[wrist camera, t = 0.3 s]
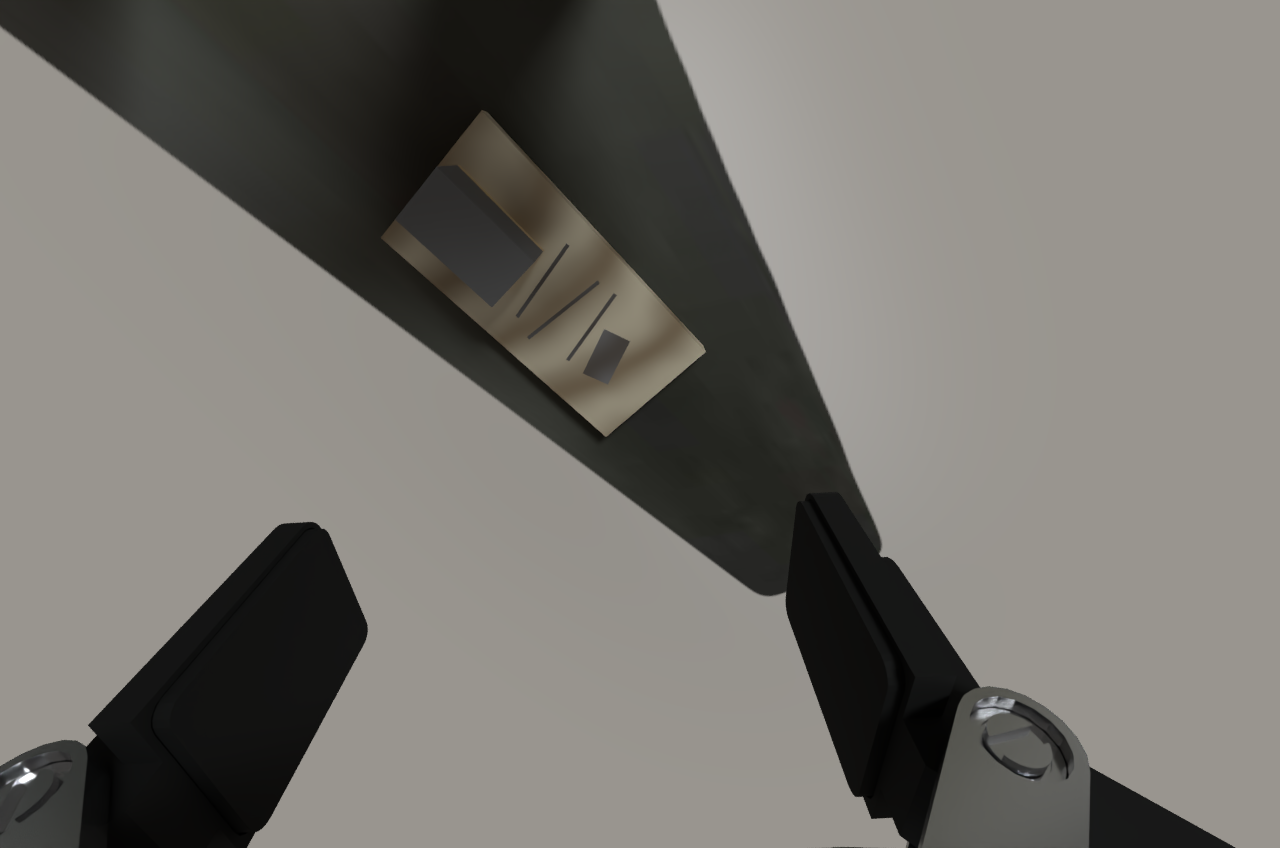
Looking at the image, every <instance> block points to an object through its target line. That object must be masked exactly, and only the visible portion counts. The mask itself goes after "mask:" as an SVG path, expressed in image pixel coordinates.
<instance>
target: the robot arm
mask: <svg viewBox="0 0 1280 848" xmlns="http://www.w3.org/2000/svg"><path fill="white" fill-rule="evenodd" d="M786 610H787V615H788V618H789V621H790V624H791V627H792V630H793V632H794V635H795V638H796V641H797V643H798V646H799V649H800V652H801V654H802V657H803V660H804V663H805V665H806V669H807V671H808V674H809V677H810V680H811V683H812V685H813V688H814V691H815V694H816V696H817V699H818V702H819V705H820V708H821V710H822V713H823V716H824V718H825V721H826V724H827V727H828V730H829V732H830V735H831V738H832V741H833V744H834V746H835V749H836V752H837V755H838V757H839V760H840V763H841V766H842V769H843V771H844V774H845V777H846V780H847V783H848V785H849V788H850V789H851V792H852V793H853V795H854V796H855V797H862V796H863V797H864V800H865V802H866V806H867V808H868V811H869V814H870V816H871V819H877V818H893V820H894V823H895V825H896V828H897V830H898V833H899V835H900V836H901V837H903V838H904V839H905V840H907V845H906V848H1235V847H1233V846H1232V845H1230V844H1228V843H1226V842H1224V841H1222V840H1221V839H1219V838H1217V837H1215V836H1213V835H1212V834H1210V833H1208V832H1206V831H1204V830H1203V829H1201V828H1199V827H1197V826H1195V825H1194V824H1192V823H1190V822H1188V821H1186V820H1185V819H1183V818H1181V817H1179V816H1177V815H1176V814H1174V813H1172V812H1170V811H1168V810H1167V809H1165V808H1163V807H1161V806H1159V805H1158V804H1155V803H1154V802H1152V801H1150V800H1148V799H1147V798H1145V797H1143V796H1141V795H1140V794H1138V793H1136V792H1134V791H1132V790H1130V789H1129V788H1127V787H1125V786H1123V785H1121V784H1120V783H1118V782H1116V781H1114V780H1112V779H1111V778H1109V777H1107V776H1105V775H1103V774H1101V773H1100V772H1098V771H1096V770H1094V769H1093V768H1091V767H1089V763H1088V758H1087V754H1086V753H1085V751H1084V749H1083V747H1082V745H1081V743H1080V742H1079V740H1078V738H1077V737H1076V736H1075V734H1074V733H1073V732H1072V731H1071V730H1070V729H1069V728H1068V726H1067V725H1066V724H1065V723H1064V722H1063V721H1062V720H1061V719H1060V718H1058V717H1057V716H1056V715H1055V714H1054V713H1052V712H1051V711H1050V710H1049V709H1047V708H1046V707H1044V706H1043V705H1041V704H1040V703H1038V702H1036V701H1034V700H1032V699H1031V698H1029V697H1027V696H1025V695H1022V694H1020V693H1017V692H1014V691H1011V690H1008V689H1004V688H997V687H990V686H989V687H982V688H980V687H979V685H978V684H977V682H976V681H975V679H974V678H973V676H972V675H971V673H970V672H969V670H968V669H967V668H966V666H965V664H964V663H963V661H962V660H961V659H960V657H959V656H958V654H957V653H956V651H955V650H954V648H953V647H952V645H951V644H950V642H949V641H948V639H947V638H946V636H945V635H944V634H943V632H942V631H941V629H940V628H939V626H938V625H937V623H936V622H935V620H934V619H933V617H932V616H931V614H930V613H929V611H928V610H927V609H926V607H925V605H924V604H923V603H922V601H921V600H920V598H919V597H918V595H917V593H916V592H915V591H914V589H913V588H912V586H911V585H910V583H909V582H908V580H907V579H906V577H905V576H904V574H903V573H902V571H901V570H900V568H899V567H898V566H897V565H896V563H895V562H894V561H893V560H892V559H890V558H888V557H881V556H880V555H879V553H878V552H877V550H876V549H875V547H874V546H873V544H872V542H871V541H870V539H869V538H868V536H867V535H866V533H865V532H864V530H863V529H862V527H861V526H860V524H859V522H858V521H857V519H856V518H855V516H854V515H853V513H852V512H851V510H850V509H849V507H848V505H847V504H846V502H845V501H844V499H843V498H842V496H841V495H840V494H839V493H837V492H828V493H810V494H808V495H807V496H806V499H805V501H799V502H798V503H797V506H796V514H795V522H794V531H793V540H792V548H791V557H790V566H789V574H788V583H787V592H786ZM367 632H368V628H367V622H366V620H365V617H364V615H363V613H362V611H361V608H360V606H359V603H358V601H357V599H356V596H355V594H354V592H353V589H352V587H351V584H350V582H349V580H348V577H347V575H346V573H345V570H344V568H343V566H342V563H341V561H340V559H339V556H338V554H337V552H336V549H335V547H334V545H333V542H332V540H331V538H330V536H329V533H328V532H327V531H326V530H325V529H321V528H320V526H319V525H318V524H316V523H314V522H303V523H287V524H281V525H279V526H278V527H276V528H275V529H274V530H273V531H272V532H271V533H270V534H269V535H268V536H267V537H266V538H265V540H264V541H263V542H262V543H261V544H260V545H259V546H258V547H257V548H256V549H255V550H254V551H253V552H252V553H251V554H250V555H249V556H248V558H247V559H246V560H245V561H244V562H243V563H242V564H241V565H240V566H239V567H238V568H237V569H236V570H235V571H234V572H233V573H232V574H231V575H230V576H229V578H228V579H227V580H226V581H225V582H224V583H223V584H222V585H221V586H220V587H219V588H218V589H217V590H216V591H215V592H214V593H213V594H212V595H211V596H210V597H209V598H208V600H207V601H206V602H205V603H204V604H203V605H202V606H201V607H200V608H199V609H198V610H197V611H196V612H195V613H194V614H193V615H192V616H191V617H190V619H189V620H188V621H187V622H186V623H185V624H184V625H183V626H182V627H181V628H180V629H179V630H178V631H177V632H176V633H175V634H174V635H173V636H172V637H171V638H170V640H169V641H168V642H167V643H166V644H165V645H164V646H163V647H162V648H161V649H160V650H159V651H158V652H157V653H156V654H155V655H154V656H153V657H152V658H151V659H150V661H149V662H148V663H147V664H146V665H145V666H144V667H143V668H142V669H141V670H140V671H139V672H138V673H137V674H136V675H135V676H134V677H133V678H132V679H131V681H130V682H129V683H128V684H127V685H126V686H125V687H124V688H123V689H122V690H121V691H120V692H119V693H118V694H117V695H116V696H115V697H114V698H113V700H112V701H111V702H110V703H109V704H108V705H107V706H106V707H105V708H104V709H103V710H102V711H101V712H100V713H99V714H98V715H97V716H96V717H95V718H94V720H93V721H92V722H91V723H90V724H89V725H88V726H89V727H90V728H91V729H92V730H93V731H94V732H95V734H96V735H97V736H96V737H95V738H94V739H93V740H92V741H91V742H90V743H89V745H88V746H87V747H86V746H84V745H83V744H81V743H80V742H78V741H72V740H62V741H57V742H53V743H49V744H45V745H42V746H39V747H37V748H35V749H32V750H30V751H28V752H25V753H23V754H21V755H19V756H17V757H15V758H14V759H12V760H10V761H9V762H7V763H5V764H3V765H1V766H0V848H247V846H248V844H249V843H250V841H251V839H252V837H253V836H254V834H255V832H257V831H259V830H260V829H262V828H263V827H264V826H265V825H266V823H267V822H268V820H269V819H270V817H271V816H272V814H273V812H274V810H275V808H276V806H277V804H278V802H279V801H280V799H281V797H282V795H283V793H284V791H285V789H286V788H287V786H288V784H289V782H290V780H291V778H292V777H293V775H294V773H295V771H296V769H297V767H298V765H299V764H300V762H301V759H302V758H303V756H304V754H305V752H306V751H307V749H308V747H309V745H310V743H311V741H312V739H313V738H314V736H315V734H316V732H317V730H318V728H319V726H320V725H321V723H322V721H323V719H324V717H325V715H326V713H327V711H328V710H329V708H330V706H331V704H332V702H333V700H334V699H335V697H336V695H337V693H338V691H339V689H340V687H341V686H342V684H343V682H344V680H345V678H346V676H347V674H348V673H349V671H350V669H351V667H352V665H353V663H354V661H355V660H356V658H357V656H358V654H359V652H360V650H361V649H362V647H363V645H364V643H365V640H366V637H367ZM833 848H861V847H833Z"/></svg>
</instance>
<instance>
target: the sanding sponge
mask: <svg viewBox="0 0 1280 848" xmlns="http://www.w3.org/2000/svg"><path fill="white" fill-rule="evenodd" d="M395 220H396V221H397V222H398V223H399V224H400V225H402V226H403V227H404V228H405V229H406V230H407V231H408V232H409V233H410V234H411V235H413V236H414V237H415V238H416V239H417V240H418V241H419V242H420V243H421V244H422V245H424V246H425V247H426V248H427V249H428V250H429V251H430V252H431V253H432V254H433V255H435V256H436V257H437V258H438V259H439V260H440V261H441V262H442V263H443V264H444V265H446V266H447V267H448V268H449V269H450V270H451V271H452V272H453V273H454V274H455V275H457V276H458V277H459V278H460V279H461V280H462V281H463V282H464V283H465V284H466V285H468V286H469V287H470V288H471V289H472V290H473V291H474V292H475V293H476V294H477V295H479V296H480V297H481V298H482V299H483V300H484V301H485V302H486V303H487V304H488V305H490V306H491V307H493V306H494V305H495V304H496V303H497V302H498V300H499V299H500V298H501V297H502V296H503V295H504V294H505V293H506V292H507V291H508V290H509V289H510V288H511V287H512V286H513V284H514V283H515V282H516V281H517V280H518V279H519V278H520V277H521V276H522V275H523V274H524V273H525V272H526V271H527V270H528V268H529V267H530V266H531V265H532V264H533V263H534V262H535V261H536V260H537V258H538V257H539V256H540V255H541V254H542V252H543V251H544V250H543V249H542V247H541V246H540V245H539V244H538V243H537V242H536V241H535V240H534V239H533V238H532V237H531V236H530V235H529V234H528V233H527V232H526V231H525V230H524V229H523V228H522V227H521V226H520V225H519V224H518V223H517V222H516V221H515V220H514V219H513V218H512V217H511V216H510V215H509V214H508V213H507V212H506V211H505V210H504V209H503V208H502V207H501V206H500V205H499V204H498V203H497V202H496V201H495V200H494V199H493V198H492V197H491V196H490V195H489V194H488V193H487V192H486V191H485V190H484V189H483V188H482V187H481V186H480V185H479V184H478V183H477V182H476V181H475V180H474V179H473V178H472V177H471V176H470V175H469V174H468V173H467V172H466V171H465V170H464V169H463V168H462V167H461V166H460V165H452V166H437V167H436V168H435V169H434V171H433V172H432V173H431V174H430V176H429V177H428V178H427V179H426V181H425V182H424V183H423V185H422V186H421V187H420V188H419V190H418V191H417V192H416V193H415V195H414V196H413V197H412V198H411V200H410V201H409V202H408V203H407V205H406V206H405V207H404V209H403V210H402V211H401V212H400V214H399V215H398V216H397V217H396V219H395Z"/></svg>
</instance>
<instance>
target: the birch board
mask: <svg viewBox="0 0 1280 848" xmlns="http://www.w3.org/2000/svg"><path fill="white" fill-rule="evenodd" d="M452 165H460V166H461V167H462V168H463V169H464V170H465V171H466V172H467V173H468V174H469V175H470V176H471V177H472V178H473V179H474V180H475V181H476V182H477V183H478V184H479V185H480V186H481V187H482V188H483V189H484V190H485V191H486V192H487V193H488V194H489V195H490V196H491V197H492V198H493V199H494V200H495V201H496V202H497V203H498V204H499V205H500V206H501V207H502V208H503V209H504V210H505V211H506V212H507V213H508V214H509V215H510V216H511V217H512V218H513V219H514V220H515V221H516V222H517V223H518V224H519V225H520V226H521V227H522V228H523V229H524V230H525V231H526V232H527V233H528V234H529V235H530V236H531V237H532V238H533V239H534V240H535V241H536V242H537V243H538V244H539V245H540V246H541V247H542V249H543V250H544V251H543V252H542V254H541V255H540V256H539V257H538V258H537V260H536V261H535V262H534V263H533V264H532V265H531V266H530V267H529V268H528V270H527V271H526V272H525V273H524V274H523V275H522V276H521V277H520V278H519V279H518V280H517V281H516V282H515V283H514V284H513V286H512V287H511V288H510V289H509V290H508V291H507V292H506V293H505V294H504V295H503V296H502V297H501V298H500V299H499V300H498V302H497V303H496V304H495V305H494V306H493V307H491V306H490V305H488V304H487V303H486V302H485V301H484V300H483V299H482V298H481V297H480V296H479V295H477V294H476V293H475V292H474V291H473V290H472V289H471V288H470V287H469V286H468V285H466V284H465V283H464V282H463V281H462V280H461V279H460V278H459V277H458V276H457V275H455V274H454V273H453V272H452V271H451V270H450V269H449V268H448V267H447V266H446V265H444V264H443V263H442V262H441V261H440V260H439V259H438V258H437V257H436V256H435V255H433V254H432V253H431V252H430V251H429V250H428V249H427V248H426V247H425V246H424V245H422V244H421V243H420V242H419V241H418V240H417V239H416V238H415V237H414V236H413V235H411V234H410V233H409V232H408V231H407V230H406V229H405V228H404V227H403V226H402V225H400V224H399V223H398V222H397V221H396V220H394V222H393V223H392V224H391V225H390V227H389V228H388V229H387V230H386V232H385V233H384V234H383V236H382V237H381V239H383V240H384V241H385V242H386V243H387V244H388V245H389V246H391V247H392V248H393V249H394V250H395V251H396V252H397V253H398V254H400V255H401V256H402V257H403V258H404V259H405V260H406V261H407V262H409V263H410V264H411V265H412V266H413V267H414V268H415V269H417V270H418V271H419V272H420V273H421V274H422V275H423V276H424V277H426V278H427V279H428V280H429V281H430V282H431V283H432V284H433V285H435V286H436V287H437V288H438V289H439V290H440V291H441V292H443V293H444V294H445V295H446V296H447V297H448V298H449V299H450V300H452V301H453V302H454V303H455V304H456V305H457V306H458V307H460V308H461V309H462V310H463V311H464V312H465V313H466V314H467V315H469V316H470V317H471V318H472V319H473V320H474V321H475V322H476V323H478V324H479V325H480V326H481V327H482V328H483V329H484V330H486V331H487V332H488V333H489V334H490V335H491V336H492V337H493V338H495V339H496V340H497V341H498V342H499V343H500V344H501V345H503V346H504V347H505V348H506V349H507V350H508V351H509V352H510V353H512V354H513V355H514V356H515V357H516V358H517V359H518V360H519V361H521V362H522V363H523V364H524V365H525V366H526V367H527V368H529V369H530V370H531V371H532V372H533V373H534V374H535V375H536V376H538V377H539V378H540V379H541V380H542V381H543V382H544V383H545V384H547V385H548V386H549V387H550V388H551V389H552V390H553V391H555V392H556V393H557V394H558V395H559V396H560V397H561V398H562V399H564V400H565V401H566V402H567V403H568V404H569V405H570V406H572V407H573V408H574V409H575V410H576V411H577V412H578V413H579V414H581V415H582V416H583V417H584V418H585V419H586V420H587V421H588V422H590V423H591V424H592V425H593V426H594V427H595V428H596V429H598V430H599V431H600V432H601V433H602V434H603V435H604V436H605V437H607V436H608V435H609V434H610V433H611V432H612V431H614V430H615V429H616V428H617V427H618V426H619V425H621V424H622V423H623V422H624V421H625V420H626V419H628V418H629V417H630V416H631V415H632V414H634V413H635V412H636V411H637V410H638V409H639V408H641V407H642V406H643V405H644V404H645V403H646V402H648V401H649V400H650V399H651V398H652V397H653V396H655V395H656V394H657V393H658V392H659V391H660V390H662V389H663V388H664V387H665V386H666V385H667V384H669V383H670V382H671V381H672V380H673V379H674V378H676V377H677V376H678V375H679V374H680V373H682V372H683V371H684V370H685V369H686V368H687V367H689V366H690V365H691V364H692V363H693V362H694V361H696V360H697V359H698V358H699V357H700V356H701V355H703V354H704V353H705V352H706V351H705V349H704V346H703V345H702V344H701V343H700V342H699V341H698V339H697V338H696V337H695V336H694V335H693V334H692V333H691V332H690V331H689V330H688V329H687V328H686V327H685V325H684V324H683V323H682V322H681V321H680V320H679V319H678V318H677V317H676V316H675V315H674V314H673V312H672V311H671V310H670V309H669V308H668V307H667V306H666V305H665V304H664V303H663V302H662V301H661V299H660V298H659V297H658V296H657V295H656V294H655V293H654V292H653V291H652V290H651V289H650V288H649V286H648V285H647V284H646V283H645V282H644V281H643V280H642V279H641V278H640V277H639V276H638V275H637V273H636V272H635V271H634V270H633V269H632V268H631V267H630V266H629V265H628V264H627V263H626V262H625V260H624V259H623V258H622V257H621V256H620V255H619V254H618V253H617V252H616V251H615V250H614V249H613V248H612V246H611V245H610V244H609V243H608V242H607V241H606V240H605V239H604V238H603V237H602V236H601V235H600V233H599V232H598V231H597V230H596V229H595V228H594V227H593V226H592V225H591V224H590V223H589V222H588V220H587V219H586V218H585V217H584V216H583V215H582V214H581V213H580V212H579V211H578V210H577V209H576V207H575V206H574V205H573V204H572V203H571V202H570V201H569V200H568V199H567V198H566V197H565V196H564V194H563V193H562V192H561V191H560V190H559V189H558V188H557V187H556V186H555V185H554V184H553V183H552V181H551V180H550V179H549V178H548V177H547V176H546V175H545V174H544V173H543V172H542V171H541V170H540V169H539V167H538V166H537V165H536V164H535V163H534V162H533V161H532V160H531V159H530V158H529V157H528V156H527V154H526V153H525V152H524V151H523V150H522V149H521V148H520V147H519V146H518V145H517V144H516V143H515V141H514V140H513V139H512V138H511V137H510V136H509V135H508V134H507V133H506V132H505V131H504V130H503V128H502V127H501V126H500V125H499V124H498V123H497V122H496V121H495V120H494V119H493V118H492V117H491V115H490V114H489V113H488V112H486V111H483V110H481V112H480V113H479V114H478V115H477V117H476V118H475V119H474V121H473V122H472V123H471V124H470V126H469V127H468V128H467V129H466V131H465V132H464V133H463V134H462V136H461V137H460V138H459V139H458V141H457V142H456V143H455V145H454V146H453V147H452V148H451V150H450V151H449V152H448V153H447V155H446V156H445V157H444V158H443V160H442V161H441V162H440V164H439V165H438V166H452Z"/></svg>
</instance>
